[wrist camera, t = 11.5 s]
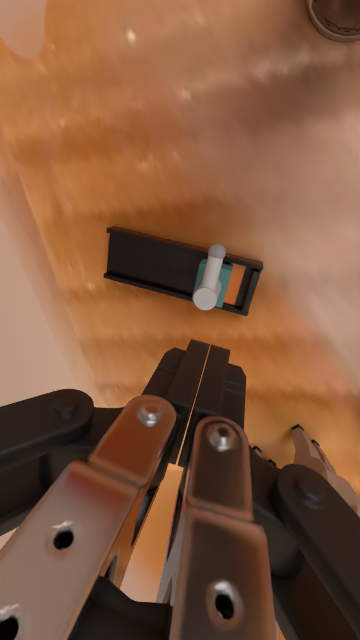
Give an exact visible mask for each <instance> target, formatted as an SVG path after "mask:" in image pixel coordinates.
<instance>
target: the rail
mask: <svg viewBox="0 0 360 640" xmlns="http://www.w3.org/2000/svg"><path fill="white" fill-rule="evenodd" d="M107 233H110V238H109V252H108V266H107V272H106V273H104V278H107V279H111V280H114V281H118V282H122V283H126V284H129V285H133V286H137V287H141V288H144V289H148V290H152V291H156V292H159V293H163V294H167V295H170V296H174V297H178V298H182V299H185V300H189V301H193V300H192V296H193V292H194V287H195V283H196V278H197V274H198V269H199V265H200V262H201V261H202V260H203V259H204V258H205V259H208V251H209V249H206V248H202V247H198V246H193V245H189V244H185V243H181V242H177V241H173V240H169V239H164V238H160V237H156V236H152V235H148V234H144V233H139V232H135V231H131V230H127V229H123V228H119V227H110V228H107ZM222 263H226V264H230V265H233V270H232V273H231V277H230V280H229V284H228V288H227V291H226V295H225V298H224V302H223V305H222V308H219V307H215V306H214V307H215V308H219V309H223V310H226V311H230V312H234V313H238V314H241V315H245V316H247V315H248V310H249V307H250V304H251V300H252V297H253V294H254V291H255V288H256V285H257V282H258V279H259V276H260V273H261V270H262V269H263V262H260V261H256V260H252V259H248V258H243V257H239V256H235V255H231V254H227V253H226V254H225V257H224V258H223V262H222ZM193 302H194V301H193Z"/></svg>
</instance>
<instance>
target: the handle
mask: <svg viewBox="0 0 360 640" xmlns="http://www.w3.org/2000/svg"><path fill="white" fill-rule="evenodd" d="M225 254H226V251H225V248H224V246H223V245H221V244H213V245H212V246H211V247H210V248H209V251H208V259H205V258H204V259H203V260H202V261H201V262H200V265H199V269H198V274H197V278H196V283H195V287H194V292H193V296H192V300H193V301H194V304H195V305H196V307H198V308H199V309H201V310H210V309H212V308H213V307H214V306H215V307H219V308H222V305H223V302H224V298H225V295H226V291H227V288H228V284H229V280H230V277H231V273H232V270H233V265H230V264H226V263H222V262H223V258H224V257H225Z"/></svg>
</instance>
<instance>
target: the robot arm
mask: <svg viewBox="0 0 360 640" xmlns="http://www.w3.org/2000/svg"><path fill="white" fill-rule="evenodd" d="M306 5H307V10H308V13H309V16H310V19H311V21H312V23H313V24H314V26H315V27H316V28H317V30H318V31H319V32H320V33H321V34H323V35H324V36H326V37H327V38H329V39H331V40H334V41H339V42H352V41H357V40H360V0H306ZM209 345H210V344H207V343H204V342H200V341H197V340H193V339H191V341H190V343H189V345H188V348H187V350H186V351H185V350H181V349H178V348H173V349H171V350H169V351H168V352H166V353H165V354H164V356H163V358H162V359H161V362H160V363H159V365H158V367H157V369H156V370H155V372H154V374H153V375H152V377H151V379H150V381H149V383H148V384H147V386H146V388H145V390H144V391H143V393H142V395H141V396H138V397H135V398H133V399H132V400H130V401H129V402H128V404H127V405H126V406H125V407H122V408H97V407H94V404H93V400H92V399H91V397H90V396H89V395H88V394H86V393H84V392H82V391H80V390H75V389H63V390H57V391H54V392H50V393H47V394H43V395H40V396H37V397H33V398H30V399H26V400H22V401H19V402H16V403H12V404H9V405H5V406H2V407H0V536H1V535H3V534H5V533H7V532H9V531H11V530H13V529H15V528H17V527H18V526H19V527H18V529H17V530H16V531H15V533H14V534H13V535H12V536H11V537H10V539H9V540H8V541H7V542H6V544H5V545H4V546H3V548H2V549H1V550H0V640H277V633H276V624H275V620H276V622H277V624H278V626H279V628H280V629H281V631H282V633H283V635H284V637H285V639H286V640H360V517H359V516H358V515H357V514H356V513H355V511H354V510H353V509H352V508H351V507H350V506H349V505H348V503H347V502H346V501H345V500H344V499H343V498H342V497H341V496H340V494H339V493H338V492H337V491H336V490H335V489H334V488H333V486H332V485H331V484H330V483H329V482H328V481H327V480H326V479H325V478H324V477H323V476H322V475H320V474H319V473H318V472H316V471H315V470H313V469H311V468H309V467H307V466H304V465H300V464H289V465H286V466H284V467H283V468H282V469H279V468H277V467H276V466H274V465H273V464H271V463H269V462H268V461H266V460H265V459H263V458H262V457H260V456H259V455H258V454H257V453H256V452H255V451H254V450H253V449H252V448H251V446H250V445H249V443H248V438H247V436H246V434H245V432H244V412H245V391H246V389H245V387H246V376H245V374H244V372H243V370H242V368H241V367H239V366H236V365H233V364H229V363H228V361H229V355H230V350H228V349H225V348H221V347H218V346H214V345H211V348H210V352H209V355H208V359H207V362H206V366H205V369H204V373H203V376H202V380H201V383H200V387H199V390H198V394H197V397H196V401H195V404H194V407H193V411H192V415H191V418H190V422H189V426H188V429H187V433H186V437H185V440H184V444H183V447H182V451H181V455H180V458H179V462H178V466H181V467H183V468H184V469H183V473H182V477H181V481H180V485H179V488H178V491H177V495H176V501H175V506H174V512H173V518H172V523H171V529H170V534H169V540H168V546H167V551H166V557H165V563H164V568H163V573H162V577H161V582H160V586H159V590H158V594H157V600H156V603H151V602H137V601H134V600H132V599H130V598H129V597H128V596H126V595H125V594H124V593H123V592H122V591H121V590H120V586H121V583H122V581H123V578H124V575H125V572H126V569H127V566H128V563H129V560H130V557H131V555H132V552H133V550H134V547H135V545H136V542H137V540H138V538H139V535H140V533H141V530H142V528H143V525H144V523H145V521H146V518H147V516H148V513H149V511H150V509H151V506H152V504H153V501H154V499H155V497H156V494H157V492H158V489H159V486H160V483H161V481H162V480H163V478H164V476H165V472H166V470H167V467H168V463H172V464H174V465H175V464H176V461H177V458H178V454H179V451H180V447H181V444H182V440H183V437H184V434H185V430H186V427H187V423H188V420H189V417H190V413H191V410H192V406H193V403H194V399H195V396H196V393H197V389H198V386H199V382H200V378H201V375H202V371H203V367H204V364H205V360H206V357H207V353H208V349H209Z"/></svg>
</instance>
